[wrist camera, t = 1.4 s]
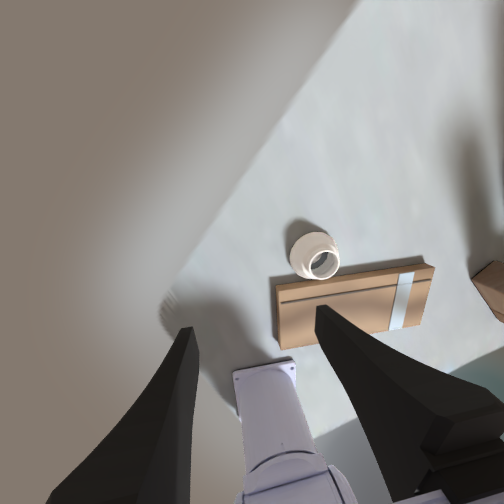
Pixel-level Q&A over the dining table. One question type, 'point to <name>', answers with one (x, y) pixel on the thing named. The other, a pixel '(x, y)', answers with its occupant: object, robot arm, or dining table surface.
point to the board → (354, 302)
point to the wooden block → (492, 287)
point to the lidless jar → (315, 256)
